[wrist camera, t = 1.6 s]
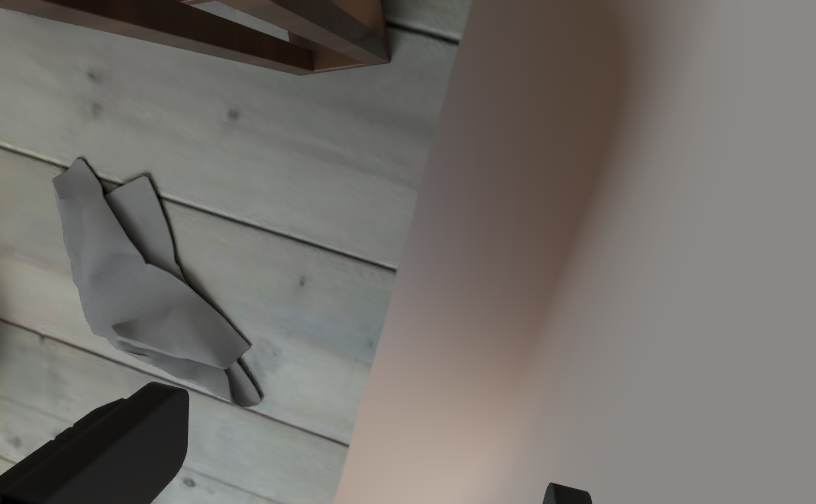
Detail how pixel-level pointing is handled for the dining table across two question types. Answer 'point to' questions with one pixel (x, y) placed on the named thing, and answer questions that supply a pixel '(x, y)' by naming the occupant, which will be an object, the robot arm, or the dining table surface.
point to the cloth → (145, 286)
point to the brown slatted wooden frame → (193, 1)
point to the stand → (240, 29)
